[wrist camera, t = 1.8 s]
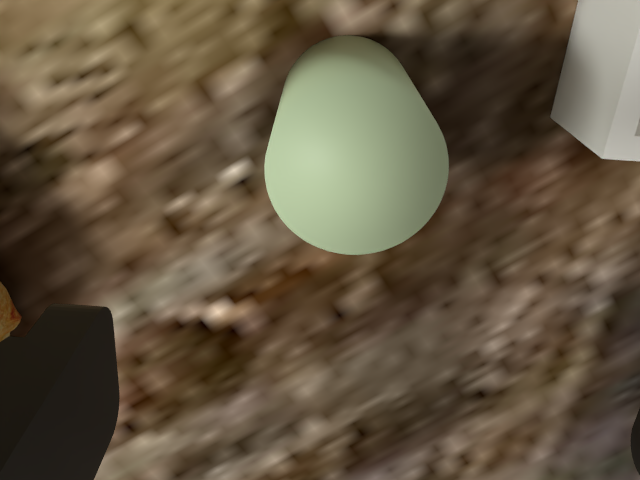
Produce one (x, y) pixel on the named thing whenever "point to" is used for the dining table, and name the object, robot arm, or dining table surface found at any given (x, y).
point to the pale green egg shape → (354, 150)
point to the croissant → (7, 314)
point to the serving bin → (602, 79)
